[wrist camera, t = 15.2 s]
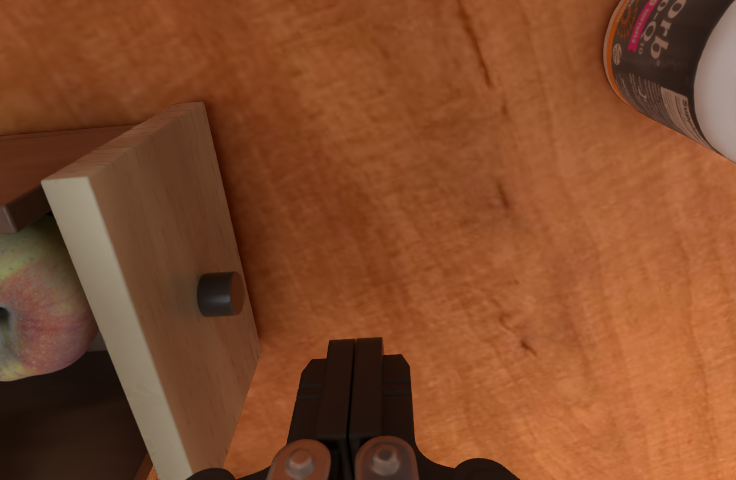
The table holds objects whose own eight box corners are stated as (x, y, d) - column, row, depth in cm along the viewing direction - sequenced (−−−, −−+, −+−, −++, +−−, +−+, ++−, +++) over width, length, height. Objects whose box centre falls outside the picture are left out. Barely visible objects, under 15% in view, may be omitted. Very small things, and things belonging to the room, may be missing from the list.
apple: (58, 350, 24) (-33, 453, 19) (-46, 198, 21) (-192, 271, 15) (173, 324, 23) (111, 424, 18) (85, 161, 20) (-24, 225, 15)
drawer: (234, 98, 20) (136, 173, 12) (285, 350, 25) (241, 514, 17) (-119, 129, 21) (-423, 217, 13) (4, 365, 26) (-158, 528, 18)
